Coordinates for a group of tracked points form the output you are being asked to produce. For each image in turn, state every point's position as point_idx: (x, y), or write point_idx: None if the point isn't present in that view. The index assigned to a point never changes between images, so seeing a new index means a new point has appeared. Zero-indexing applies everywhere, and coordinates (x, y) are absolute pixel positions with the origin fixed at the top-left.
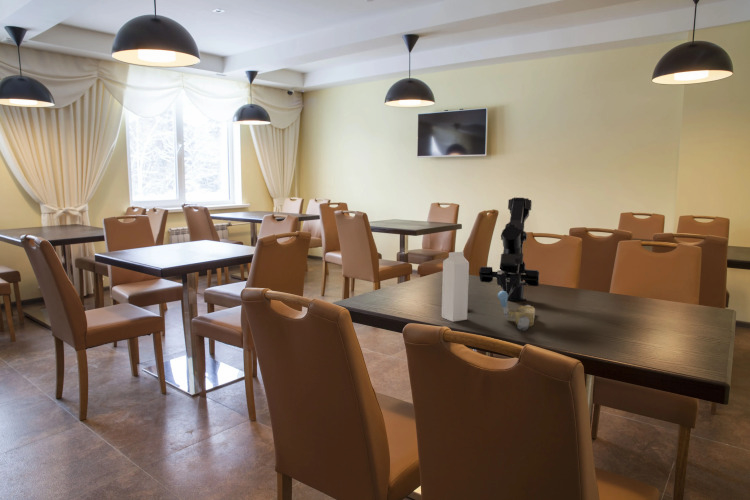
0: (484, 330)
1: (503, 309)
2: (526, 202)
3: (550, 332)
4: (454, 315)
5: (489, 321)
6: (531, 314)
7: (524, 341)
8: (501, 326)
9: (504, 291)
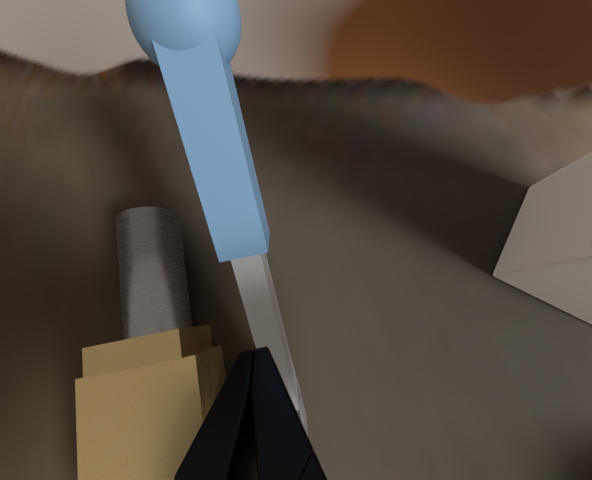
0: (324, 139)
1: (278, 307)
2: None
3: (35, 287)
4: (549, 182)
5: (367, 312)
6: (89, 347)
7: (130, 91)
8: (277, 251)
9: None
